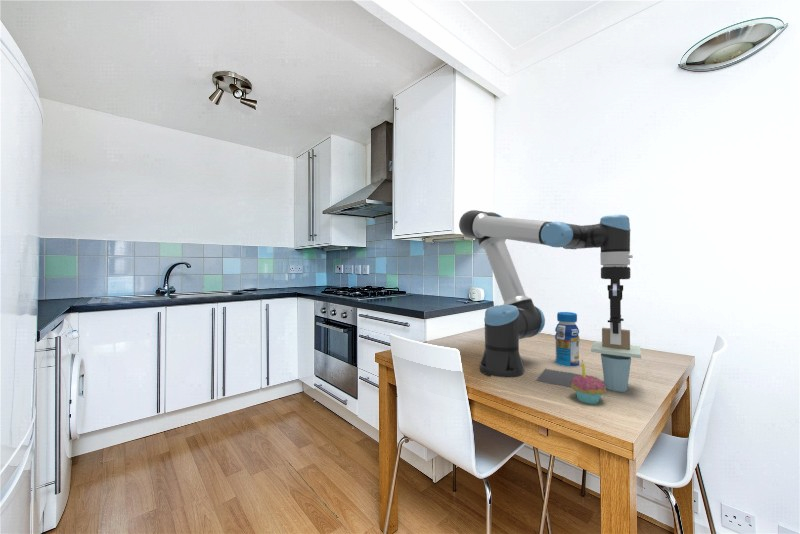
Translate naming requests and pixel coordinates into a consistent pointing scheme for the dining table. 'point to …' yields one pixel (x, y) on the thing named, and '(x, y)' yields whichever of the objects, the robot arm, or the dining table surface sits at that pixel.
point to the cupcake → (587, 387)
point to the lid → (614, 349)
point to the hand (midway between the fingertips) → (615, 343)
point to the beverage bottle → (567, 340)
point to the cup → (616, 371)
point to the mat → (556, 377)
